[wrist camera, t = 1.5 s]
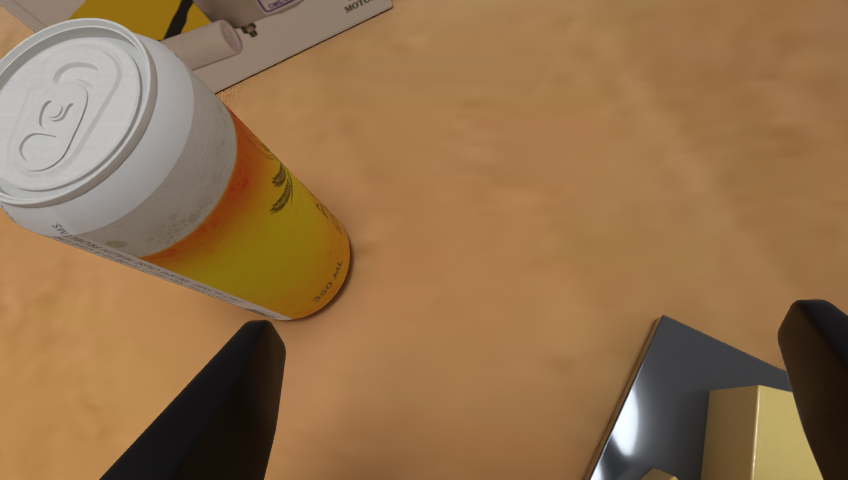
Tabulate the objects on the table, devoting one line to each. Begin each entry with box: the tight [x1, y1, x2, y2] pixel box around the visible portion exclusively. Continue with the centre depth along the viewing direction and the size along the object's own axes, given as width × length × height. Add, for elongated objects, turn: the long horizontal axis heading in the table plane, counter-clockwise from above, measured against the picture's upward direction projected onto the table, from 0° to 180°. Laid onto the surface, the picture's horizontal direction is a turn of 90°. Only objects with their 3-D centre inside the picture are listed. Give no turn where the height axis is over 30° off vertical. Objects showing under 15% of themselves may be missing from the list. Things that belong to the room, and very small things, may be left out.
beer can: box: [0, 18, 350, 320], centre depth 20 cm, size 6×6×15 cm
